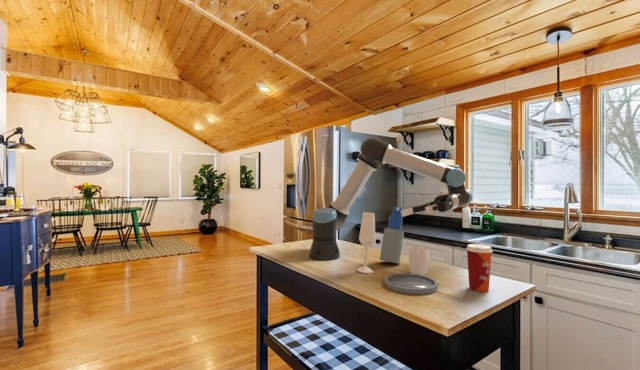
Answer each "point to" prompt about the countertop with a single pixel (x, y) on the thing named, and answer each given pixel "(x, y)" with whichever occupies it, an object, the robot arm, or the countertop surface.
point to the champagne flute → (367, 237)
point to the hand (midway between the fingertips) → (413, 212)
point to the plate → (411, 283)
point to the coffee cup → (479, 266)
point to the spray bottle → (393, 238)
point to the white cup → (418, 260)
